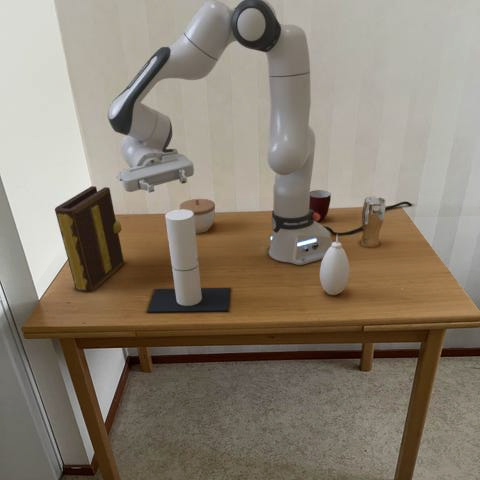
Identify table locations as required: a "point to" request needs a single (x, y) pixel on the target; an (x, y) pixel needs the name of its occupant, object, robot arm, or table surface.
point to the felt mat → (210, 303)
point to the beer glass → (372, 220)
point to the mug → (320, 203)
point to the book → (90, 237)
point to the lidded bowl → (201, 213)
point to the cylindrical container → (184, 256)
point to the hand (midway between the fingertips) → (168, 185)
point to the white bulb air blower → (334, 269)
